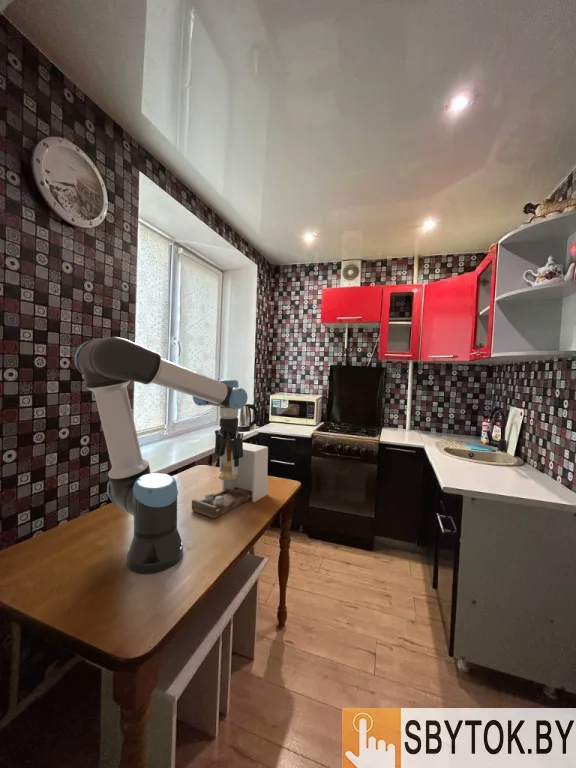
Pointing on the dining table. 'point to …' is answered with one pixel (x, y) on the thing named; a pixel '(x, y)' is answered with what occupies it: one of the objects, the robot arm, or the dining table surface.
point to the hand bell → (228, 466)
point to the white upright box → (251, 471)
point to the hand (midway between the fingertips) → (228, 472)
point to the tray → (228, 503)
